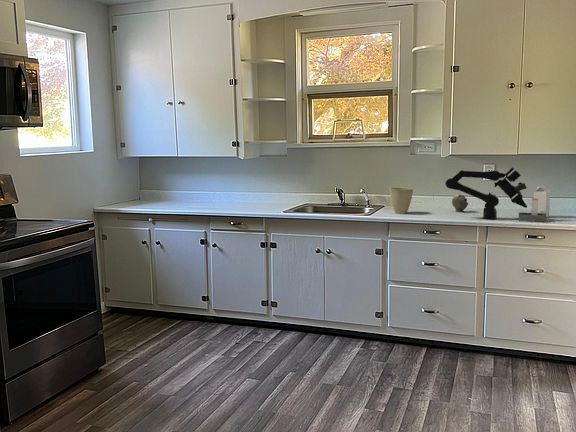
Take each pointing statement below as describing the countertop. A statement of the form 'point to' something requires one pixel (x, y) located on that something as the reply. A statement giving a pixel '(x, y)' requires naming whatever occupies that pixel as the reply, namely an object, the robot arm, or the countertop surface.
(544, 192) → the milk carton
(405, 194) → the plant pot
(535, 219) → the switch housing
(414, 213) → the countertop surface
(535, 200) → the switch lever
